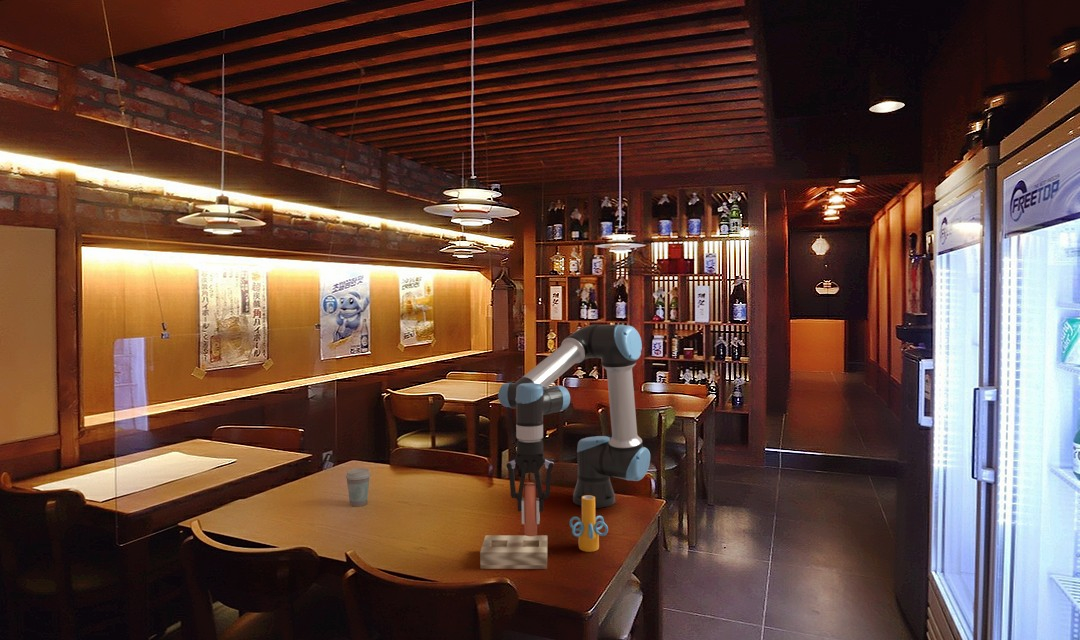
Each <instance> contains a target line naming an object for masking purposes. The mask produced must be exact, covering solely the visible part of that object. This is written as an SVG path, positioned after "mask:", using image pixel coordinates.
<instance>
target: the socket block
mask: <svg viewBox="0 0 1080 640" xmlns="http://www.w3.org/2000/svg"><path fill="white" fill-rule="evenodd" d="M484 536H485V537H484V539H483V543H482V546H481V549H480V550H479V554H480V555H479V557H480V559H479V561H480V562H479V563H480V570H481V569H482V570H485V569H489V570H490V569H491V570H496V569H498V570H499V569H500V570H501V569H503V570H507V569H509V570H510V569H513V570H519V569H520V570H547V569H548V553H549V552H548V535H546V534H545V535H543V534H541V535H538V534H537V535H536V536H526V535H525V534H524V535H518V534H517V535H516V534H515V535H514V534H513V535H508V534H507V535H498V534H497V535H495V534H493V535H491V534H490V535H489V534H488V535H484Z"/></svg>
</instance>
